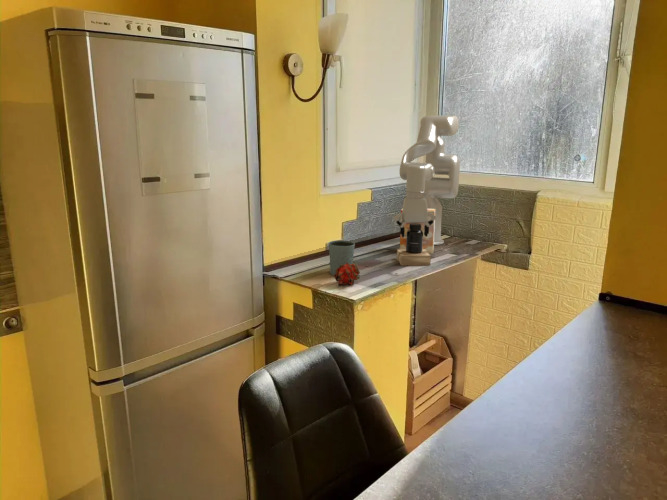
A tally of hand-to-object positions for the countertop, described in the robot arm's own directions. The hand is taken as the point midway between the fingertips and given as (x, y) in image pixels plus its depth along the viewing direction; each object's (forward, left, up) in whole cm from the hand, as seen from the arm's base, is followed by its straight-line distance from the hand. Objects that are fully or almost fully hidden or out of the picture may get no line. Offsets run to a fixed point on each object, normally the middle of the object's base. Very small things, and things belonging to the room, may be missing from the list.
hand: (414, 236), depth 218 cm
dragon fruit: (+31, -30, -11) cm, 44 cm away
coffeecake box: (-17, +5, -11) cm, 21 cm away
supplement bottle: (0, 0, -7) cm, 7 cm away
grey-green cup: (+16, -31, -11) cm, 37 cm away
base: (+1, 0, -11) cm, 11 cm away
